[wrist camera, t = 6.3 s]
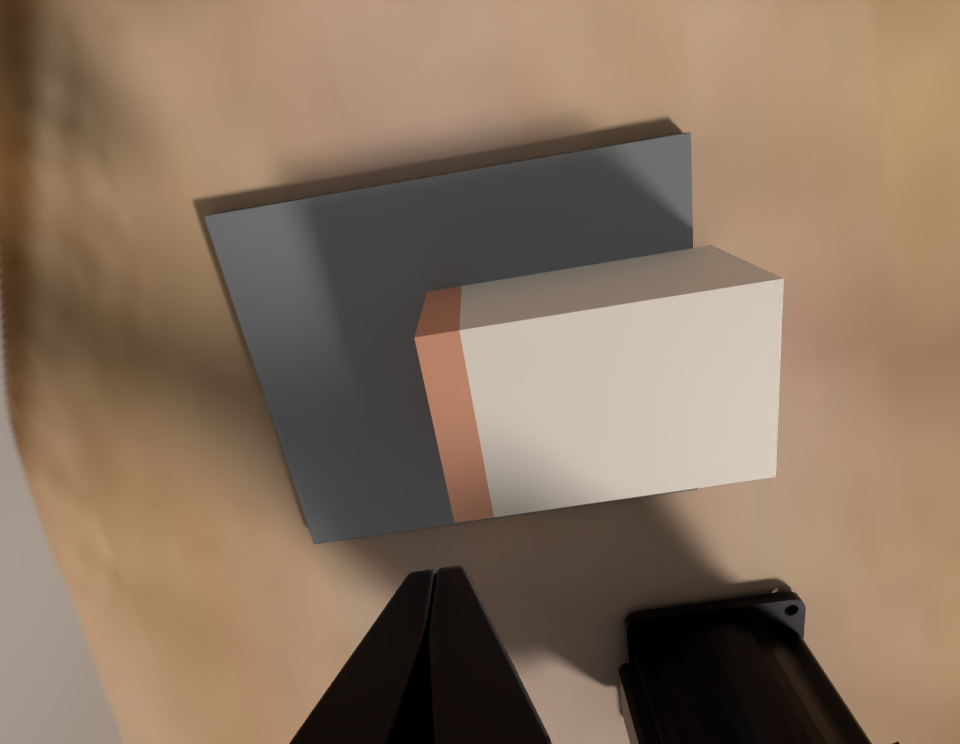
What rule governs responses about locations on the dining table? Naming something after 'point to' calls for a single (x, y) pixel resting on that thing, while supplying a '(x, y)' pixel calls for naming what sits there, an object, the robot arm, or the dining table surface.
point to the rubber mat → (416, 305)
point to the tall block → (603, 381)
